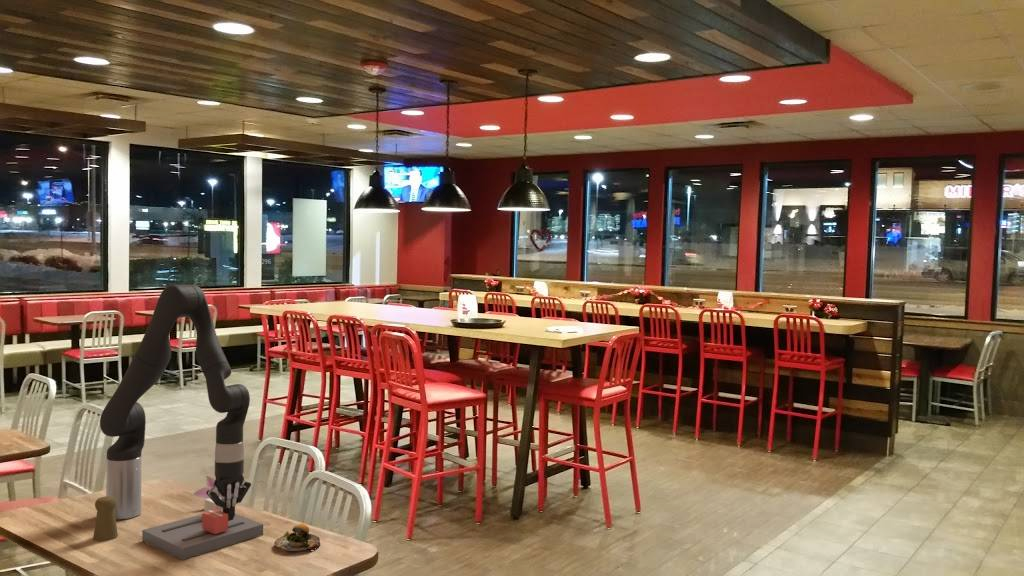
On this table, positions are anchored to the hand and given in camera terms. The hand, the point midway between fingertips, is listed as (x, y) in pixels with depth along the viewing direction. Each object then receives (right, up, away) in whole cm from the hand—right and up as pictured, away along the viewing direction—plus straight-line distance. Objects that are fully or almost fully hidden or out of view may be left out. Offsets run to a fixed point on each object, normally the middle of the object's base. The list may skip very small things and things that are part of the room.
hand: (228, 519), depth 217 cm
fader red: (-3, -2, -3) cm, 4 cm away
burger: (+20, -6, -5) cm, 22 cm away
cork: (-33, -4, -2) cm, 33 cm away
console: (-7, -5, 0) cm, 8 cm away
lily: (-13, -4, +26) cm, 29 cm away
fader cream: (-6, -1, +8) cm, 10 cm away
